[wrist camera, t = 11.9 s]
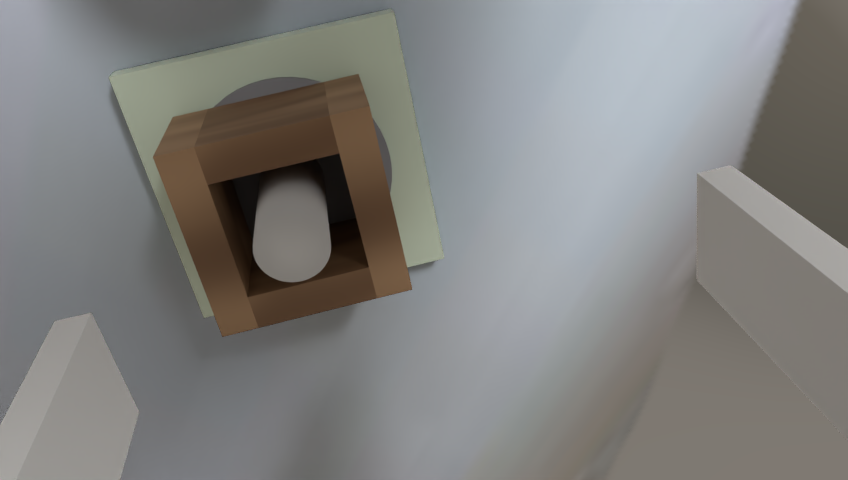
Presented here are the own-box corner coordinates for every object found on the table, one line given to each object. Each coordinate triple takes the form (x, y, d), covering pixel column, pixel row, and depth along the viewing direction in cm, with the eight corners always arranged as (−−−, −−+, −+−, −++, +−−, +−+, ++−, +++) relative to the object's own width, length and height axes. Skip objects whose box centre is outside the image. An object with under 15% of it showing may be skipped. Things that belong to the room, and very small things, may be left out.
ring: (172, 116, 31) (152, 156, 26) (358, 73, 31) (369, 105, 27) (231, 278, 34) (222, 336, 30) (396, 237, 35) (412, 289, 31)
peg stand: (113, 71, 31) (58, 131, 24) (391, 8, 32) (421, 47, 24) (206, 307, 36) (184, 415, 29) (440, 249, 37) (477, 340, 30)
